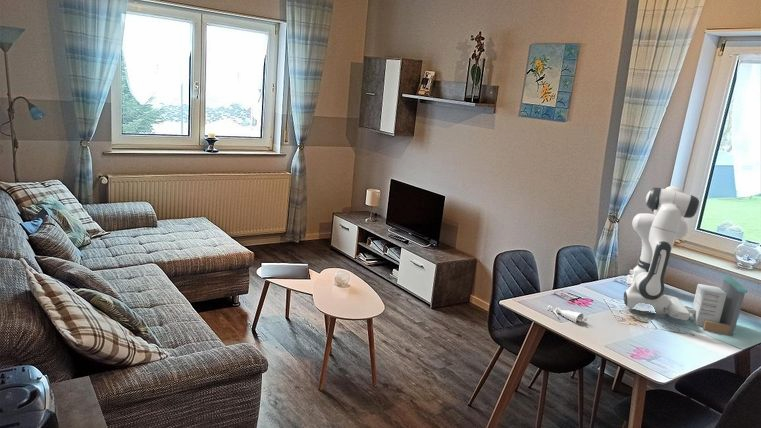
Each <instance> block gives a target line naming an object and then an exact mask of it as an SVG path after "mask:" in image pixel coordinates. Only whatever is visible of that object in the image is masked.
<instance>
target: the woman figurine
mask: <svg viewBox="0 0 761 428" xmlns="http://www.w3.org/2000/svg"><path fill="white" fill-rule="evenodd" d="M546 309H547V311H548V310H549V311H548V312H550V311H552V312H553V314H555V316H556V317H557V318H559V314H560V315H561V316H562V317H563V316H564V317H563V318H565V319H566V320H568V319H569V321H570V320H571V321H570V322H572V321H573V323H574V322H575V324H576V323H577V322H582V323H585V322H587V321H588V317H587V316H586V317H584V313H582V312H578V311H572V310H565V309H561V308H560V307H556V308H555V307H554V306H552V305H551V304H550V305H548V306H547V308H546Z"/></svg>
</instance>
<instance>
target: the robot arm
mask: <svg viewBox="0 0 761 428" xmlns="http://www.w3.org/2000/svg"><path fill="white" fill-rule="evenodd" d="M645 204H646V205H645V206H647V208H648V209H649V210H651V212H652V213H649V212H648V213H643V212H642V213H637V214H636V215H635V216H634V217H633V219H632V222H631V223H632V224H631V225H632V229H633V230H634V231H635V232H636V233H637V234H638V236H639V238H640V239H641V253H640V257H639V258H638V260H637V265H636V266H635V267H633V269H629V274H627V275H626V284H628V285H630V286H629V287H628V288H627V289H625V290H624V292H623V301H624V305H625V307H627V309H628V308H629V309H631V310H633V309H632V308H633V307H634V306H635V305H636V304H638V303H645V304H650V305H652V306H653V307H654V309H655V312H656V314H655V315H659V316H666V315H667V314H668V315H669V317H671V318H674V319H678V320H683V321H688V320H690V314H691V313H692V314H695V312H696V311H695V309H694V308H692V307H691V306H688V305H685V304H683V302H682V301H681V300H680V298H678V297H676V296H674V295H673V296H672V295H668V294H664V293H665V290H666V287H665V283H664V282H665V275H666V271H667V268H668V267H667V266H668V262H669V259H670V256H671V252H672V249H673V246H674V244H675V241H676V240H682V239H683V238H684V237H686V235H687V234H688V231H689V226H688V223H687V222H686V221H685V220H684V219H682V217H683V218H686V219H687V218H688V219H691V218H693V217H694V216H695V215H697V213H698V212H699V210H700V199H699V198H698V197H696V196H695V195H692V194H691V195H690V194H688V193H685V192H684V191H683V189H682V188H680V187H679V186H675V185H669V186H667V187H666V188H661V187H652V188H651V189H650V190H649V191H648V192H647V194H646V197H645Z"/></svg>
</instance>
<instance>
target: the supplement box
mask: <svg viewBox="0 0 761 428" xmlns="http://www.w3.org/2000/svg"><path fill="white" fill-rule="evenodd" d="M726 295H727V294H726V293H725V292H724V291H723V290H722V287H719V286H714V285H708V284H703V283H702V284H701V283H698V284H697V286H696V291H695V295H694V299H693V303H692V305H691V306H692V307H691V308H694V309H695V311H696V312H695V314H692V313H690V316H689V320H691V322H693V324H694V325H695V326H697V327H698V326H700V327H704V323H705V320H706V321H711V322H717V323H719V322H720V318H721V314H722V310H723V306H724V303H725V299H726Z"/></svg>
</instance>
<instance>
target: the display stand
mask: <svg viewBox="0 0 761 428" xmlns="http://www.w3.org/2000/svg"><path fill="white" fill-rule="evenodd" d="M722 279H723V281H722V282H723V283H722V286H721V289H722V290H723V291H724V292H725V293H726V294H727V295H726V299H725V303H724V306H723V310H722V314H721V318H720V322H719V323H717V322H711V321H706V320H705V323H704V326H702V330H703V331H706V332H713V333H717V334H723V335H729V336H734V334H735V329H736V326H737V323H738V319H739V316H740V312H741V309H742V305H743V302H744V298H745V294H747V293H748V289H747V288H746V287H744V286H743V285H742V284H740V282H738V281H737V280H736V279H734V277H732V276H731V275H725V274H724V275H723V276H722Z"/></svg>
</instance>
